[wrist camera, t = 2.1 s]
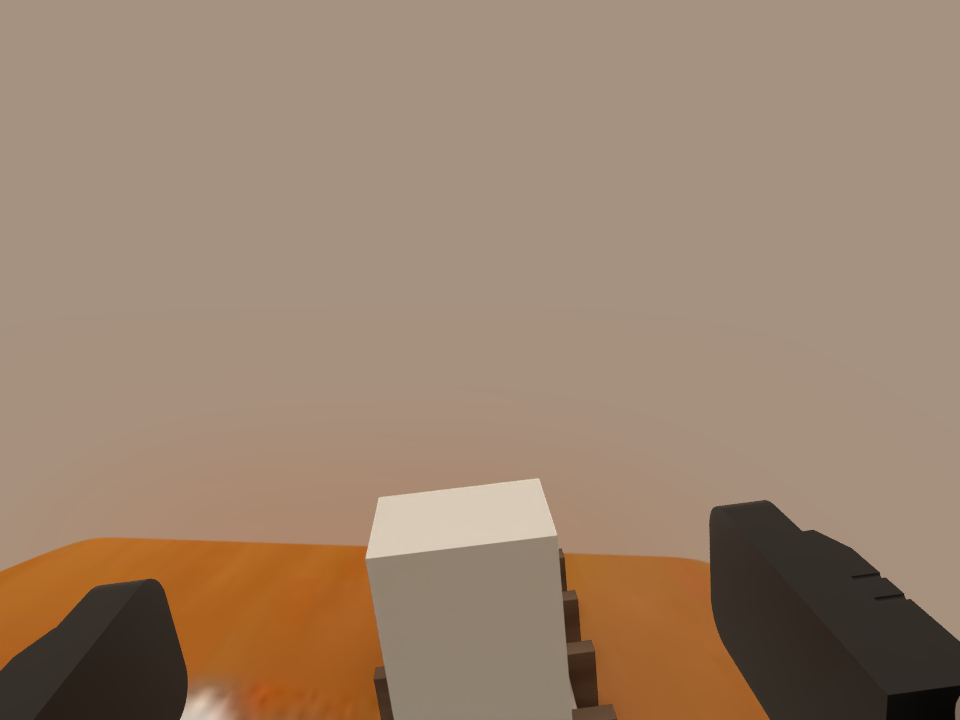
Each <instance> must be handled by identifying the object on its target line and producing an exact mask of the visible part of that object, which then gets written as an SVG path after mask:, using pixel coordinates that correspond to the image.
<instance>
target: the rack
mask: <svg viewBox="0 0 960 720" xmlns="http://www.w3.org/2000/svg"><path fill="white" fill-rule="evenodd" d="M559 561H560V573H561V585H562V598H563V610H564V622H565V635H566V647H567V659H568V672H569V679H570V683H571V687H572V691H573V695H574V699H575V703H576V706H577V709H572V720H617V718H616V715H615V712H614V709H613V706H612V704H610V705H603V706H598V691H597V676H596V661H595V650H594V647H593V644H592V641H591V640H588V641H581V634H580V621H579V607H578V598H577V595H576V592H575V590H572V591H567V584H566V571H565V559H564V555H563V552H562V549H559ZM374 682H375V688H376V693H377V699H378V704H379V710H380V715H381V720H394V718H393V712H392V707H391V701H390V695H389V690H388V684H387V678H386V673H385V667H384V666H383V667H376V669H375V676H374Z"/></svg>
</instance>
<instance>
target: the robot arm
mask: <svg viewBox="0 0 960 720" xmlns="http://www.w3.org/2000/svg"><path fill="white" fill-rule="evenodd" d="M709 527H710V573H711V603H712V610H713V615H714V620H715V623H716V627H717V630H718V633H719V635H720V638H721V640H722V642H723V644H724V646H725V648H726V649H727V651H728V652H729V654H730V656H731V657H732V659H733V661H734V662H735V664H736V665H737V667H738V669H739V670H740V672H741V673H742V675H743V677H744V678H745V680H746V681H747V683H748V685H749V686H750V688H751V689H752V691H753V693H754V694H755V696H756V698H757V699H758V701H759V702H760V704H761V706H762V707H763V709H764V710H765V712H766V714H767V715H768V717H769V718H770V720H960V641H958V640H957V639H956V638H955V637H954V636H953V635H952V634H950V633H949V632H948V631H947V630H946V629H945V628H943V627H942V626H941V625H940V624H939V623H938V622H936V621H935V620H934V619H933V618H932V617H931V616H929V615H928V614H927V613H926V612H925V611H924V610H923V609H921V608H920V607H919V606H918V605H917V604H915V603H914V602H913V601H912V600H911V599H908V600H906V598H905V596H904V593H903V592H902V591H900V590H899V589H898V588H897V587H896V586H895V585H894V584H892V583H891V582H890V581H889V580H888V579H887V578H881V576H880V572H878V571H877V570H876V569H875V568H874V567H873V566H871V565H870V564H869V563H868V562H867V561H866V560H865V559H863V558H862V557H861V556H860V555H859V554H858V553H856V552H855V551H854V550H853V549H852V548H850V547H848V546H845V545H844V544H841V543H840V542H838V541H836V540H833V539H831V538H829V537H827V536H825V535H823V534H821V533H819V532H817V531H815V530H809V531H801V530H800V529H799V528H798V527H797V526H796V525H795V524H794V523H793V522H792V521H791V520H790V519H789V518H787V517H786V516H785V515H784V514H783V513H782V512H781V511H780V510H779V509H778V508H777V507H776V506H775V505H774V504H772V503H771V502H769V501H767V500H763V501H755V502H748V503H739V504H732V505H724V506H716V507H714V508H713V509H712V511H711V515H710V523H709ZM187 688H188V678H187V670H186V665H185V662H184V658H183V655H182V651H181V648H180V644H179V640H178V637H177V633H176V630H175V626H174V623H173V619H172V616H171V612H170V609H169V605H168V601H167V598H166V595H165V592H164V589H163V587H162V586H161V584H160V583H159V582H158V581H157V580H154V579H146V580H138V581H131V582H123V583H115V584H107V585H100V586H97V587H95V588H93V589H92V590H90V591H89V592H88V593H87V594H86V596H85V597H84V598H83V599H82V600H81V601H80V602H79V603H78V604H77V605H76V607H75V608H74V609H73V610H72V611H71V612H70V613H69V614H68V615H67V616H66V617H65V619H64V620H63V621H62V622H61V623H60V624H59V625H58V626H57V627H56V628H54V629H53V630H51V631H50V632H48V633H47V634H46V635H44V636H43V637H41V638H40V639H39V640H37V641H36V642H34V643H33V644H32V645H30V646H29V647H27V648H26V649H25V650H23V651H22V652H20V653H19V654H17V655H16V656H15V657H13V658H12V659H11V660H10V662H9V663H8V664H7V665H6V666H5V667H4V668H3V669H2V670H1V671H0V720H180V718H181V716H182V713H183V710H184V707H185V703H186V697H187Z"/></svg>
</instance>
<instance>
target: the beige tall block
mask: <svg viewBox="0 0 960 720" xmlns="http://www.w3.org/2000/svg"><path fill="white" fill-rule="evenodd" d="M366 565H367V570H368V576H369V582H370V587H371V593H372V599H373V604H374V610H375V616H376V622H377V627H378V633H379V639H380V644H381V650H382V656H383V661H384V667H385V673H386V678H387V684H388V690H389V695H390V701H391V707H392V712H393V718H394V720H572V709H571V696H570V684H569V672H568V659H567V647H566V635H565V622H564V610H563V598H562V585H561V573H560V561H559V548H558V536H557V532H556V529H555V526H554V523H553V521H552V517H551V514H550V511H549V508H548V505H547V502H546V499H545V496H544V492H543V489H542V487H541V483H540V480H539V478H537V479H528V480H520V481H512V482H504V483H495V484H487V485H479V486H470V487H462V488H454V489H446V490H437V491H429V492H421V493H413V494H404V495H396V496H388V497H380V498H379V500H378V504H377V509H376V513H375V518H374V522H373V527H372V532H371V536H370V541H369V545H368V550H367V554H366Z"/></svg>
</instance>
